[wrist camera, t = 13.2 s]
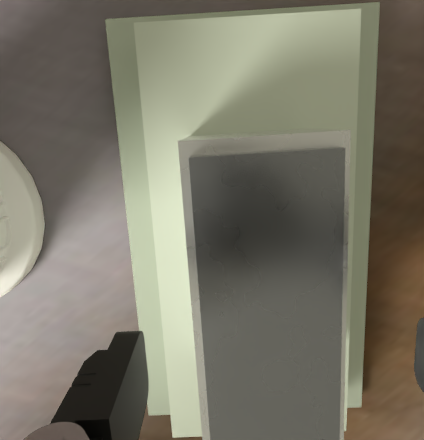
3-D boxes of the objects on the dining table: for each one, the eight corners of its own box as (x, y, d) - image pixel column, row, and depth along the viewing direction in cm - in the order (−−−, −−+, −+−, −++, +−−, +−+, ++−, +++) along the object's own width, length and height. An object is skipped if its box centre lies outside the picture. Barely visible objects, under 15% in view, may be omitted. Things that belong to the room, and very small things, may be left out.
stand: (151, 404, 26) (140, 453, 22) (110, 24, 21) (85, 0, 17) (355, 396, 26) (380, 444, 22) (371, 7, 20) (409, -21, 16)
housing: (189, 136, 18) (175, 141, 12) (306, 128, 18) (357, 130, 12) (206, 360, 21) (202, 463, 15) (307, 354, 21) (348, 457, 14)
